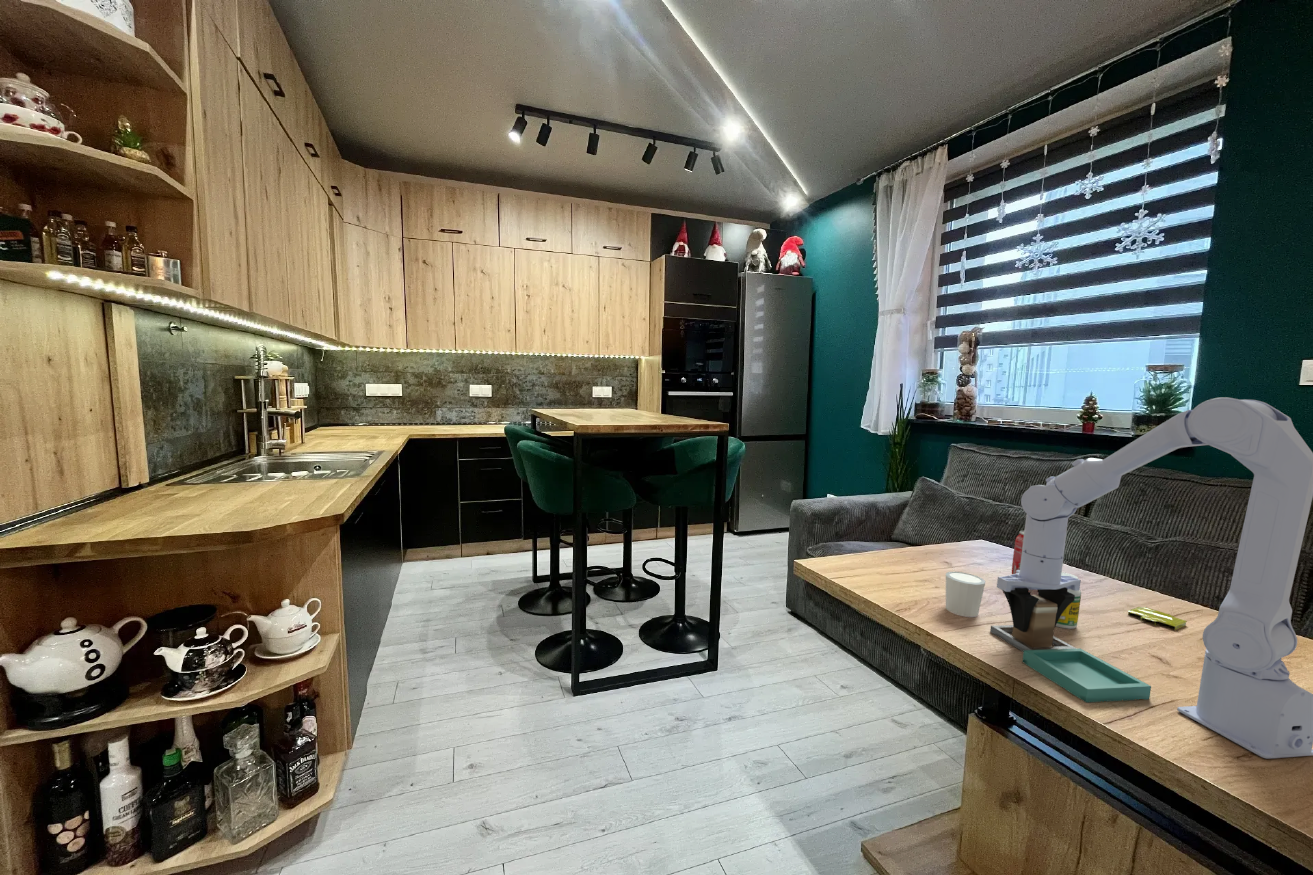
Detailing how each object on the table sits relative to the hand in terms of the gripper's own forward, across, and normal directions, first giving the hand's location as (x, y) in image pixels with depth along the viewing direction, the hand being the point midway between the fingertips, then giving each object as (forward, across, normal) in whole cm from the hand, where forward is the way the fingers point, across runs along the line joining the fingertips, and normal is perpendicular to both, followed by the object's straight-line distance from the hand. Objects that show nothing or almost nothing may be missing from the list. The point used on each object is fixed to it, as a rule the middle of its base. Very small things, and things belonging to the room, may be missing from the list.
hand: (1033, 628), depth 88 cm
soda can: (+3, -25, -26) cm, 36 cm away
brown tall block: (+3, 0, 0) cm, 3 cm away
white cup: (+3, +3, -13) cm, 14 cm away
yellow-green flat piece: (+4, -35, -7) cm, 36 cm away
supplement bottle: (+3, -13, -7) cm, 15 cm away
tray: (+3, +2, +11) cm, 11 cm away
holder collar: (+3, 0, 0) cm, 3 cm away
